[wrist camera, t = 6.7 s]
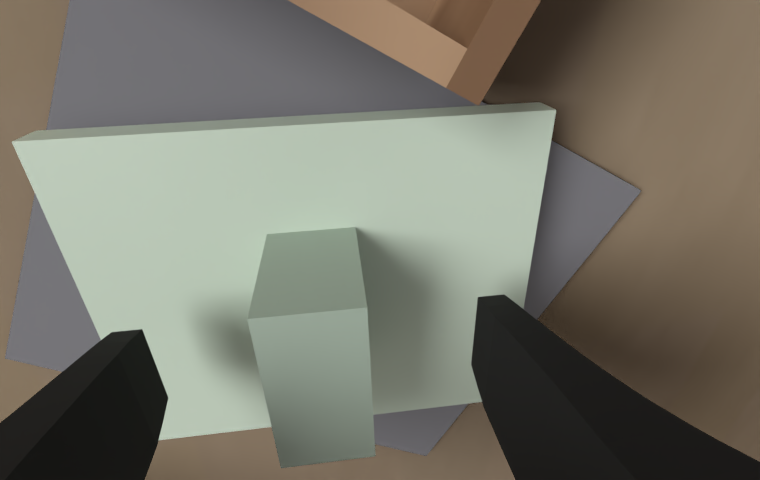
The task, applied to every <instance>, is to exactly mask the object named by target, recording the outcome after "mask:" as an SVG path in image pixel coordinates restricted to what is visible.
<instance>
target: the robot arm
mask: <svg viewBox="0 0 760 480" xmlns="http://www.w3.org/2000/svg"><path fill="white" fill-rule="evenodd" d="M471 366H472V369H473V373H474V376H475V380H476V383H477V387H478V390H479V393H480V396H481V400H482V403H483V406H484V408H485V411H486V413H487V416H488V418H489V420H490V422H491V425H492V427H493V429H494V432H495V434H496V436H497V439H498V441H499V443H500V445H501V448H502V450H503V452H504V455H505V457H506V459H507V461H508V464H509V466H510V468H511V470H512V473H513V475H514V477H515V480H760V462H759V461H757V460H755V459H753V458H751V457H749V456H747V455H745V454H743V453H741V452H740V451H738V450H736V449H734V448H732V447H730V446H728V445H726V444H724V443H722V442H720V441H719V440H717V439H715V438H713V437H711V436H709V435H708V434H706V433H704V432H702V431H700V430H699V429H697V428H695V427H693V426H692V425H690V424H688V423H687V422H685V421H683V420H681V419H680V418H678V417H676V416H675V415H673V414H671V413H670V412H668V411H666V410H665V409H663V408H661V407H660V406H658V405H656V404H655V403H653V402H651V401H650V400H648V399H647V398H645V397H643V396H642V395H640V394H639V393H637V392H636V391H634V390H632V389H631V388H630V387H628V386H627V385H625V384H624V383H622V382H621V381H619V380H618V379H616V378H615V377H613V376H612V375H610V374H609V373H607V372H606V371H604V370H603V369H602V368H600V367H599V366H597V365H596V364H595V363H593V362H592V361H590V360H589V359H588V358H586V357H585V356H583V355H582V354H581V353H579V352H578V351H577V350H575V349H574V348H573V347H571V346H570V345H569V344H567V343H566V342H565V341H563V340H562V339H561V338H559V337H558V336H557V335H556V334H554V333H553V332H552V331H550V330H549V329H548V328H547V327H545V326H544V325H543V324H542V323H540V322H539V321H538V320H536V319H535V318H534V317H533V316H531V315H530V314H529V313H528V312H526V311H525V310H524V309H523V308H521V307H520V306H519V305H518V304H516V303H515V302H514V301H512V300H511V299H510V298H508V297H507V296H506V295H504V294H503V295H493V296H483V297H478V300H477V310H476V320H475V330H474V340H473V350H472V360H471ZM167 402H168V395H167V393H166V390H165V388H164V385H163V382H162V380H161V377H160V374H159V372H158V369H157V367H156V364H155V361H154V359H153V356H152V353H151V351H150V348H149V346H148V343H147V340H146V338H145V335H144V332H143V330H142V329H139V330H128V331H118V332H111V333H110V334H109V335H107V336H106V337H105V338H103V339H102V340H101V341H99V342H98V343H97V344H96V345H94V346H93V347H92V348H91V349H89V350H88V351H87V352H86V353H85V354H83V355H82V356H81V357H80V358H78V359H77V360H76V361H75V362H74V363H72V364H71V365H70V366H69V367H68V368H66V369H65V370H64V371H63V372H62V373H61V374H59V375H58V376H57V377H56V378H55V379H53V380H52V381H51V382H50V383H49V384H47V385H46V386H45V387H44V388H42V389H41V390H40V391H39V392H38V393H36V394H35V395H34V396H33V397H32V398H30V399H29V400H28V401H27V402H25V403H24V404H23V405H22V406H21V407H19V408H18V409H17V410H16V411H15V412H13V413H12V414H11V415H10V416H8V417H7V418H6V419H5V420H3V421H2V422H1V423H0V480H145V477H146V474H147V471H148V469H149V466H150V463H151V461H152V458H153V455H154V453H155V450H156V447H157V444H158V440H159V436H160V432H161V428H162V424H163V420H164V415H165V411H166V406H167Z"/></svg>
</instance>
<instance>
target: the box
mask: <svg viewBox="0 0 760 480" xmlns="http://www.w3.org/2000/svg"><path fill="white" fill-rule="evenodd" d="M288 1H290V2H292V3H294V4H295V5H297V6H299V7H301V8H303V9H304V10H306V11H308V12H310V13H312V14H313V15H315V16H317V17H319V18H321V19H322V20H324V21H326V22H328V23H330V24H331V25H333V26H335V27H337V28H339V29H340V30H342V31H344V32H346V33H348V34H350V35H351V36H353V37H355V38H357V39H359V40H360V41H362V42H364V43H366V44H368V45H369V46H371V47H373V48H375V49H377V50H378V51H380V52H382V53H384V54H386V55H387V56H389V57H391V58H393V59H395V60H396V61H398V62H400V63H402V64H404V65H406V66H407V67H409V68H411V69H413V70H415V71H416V72H418V73H420V74H422V75H424V76H425V77H427V78H429V79H431V80H433V81H434V82H436V83H438V84H440V85H442V86H443V87H445V88H447V89H449V90H451V91H453V92H454V93H456V94H458V95H460V96H462V97H463V98H465V99H467V100H469V101H471V102H472V103H474V104H476V105H478V106H479V105H480V103H481V101H482V100H483V98H484V96H485V95H486V93H487V91H488V89H489V88H490V86H491V84H492V83H493V81H494V79H495V78H496V76H497V74H498V73H499V71H500V69H501V67H502V66H503V64H504V62H505V61H506V59H507V57H508V56H509V54H510V52H511V50H512V49H513V47H514V45H515V44H516V42H517V40H518V39H519V37H520V35H521V34H522V32H523V30H524V28H525V27H526V25H527V23H528V22H529V20H530V18H531V17H532V15H533V13H534V12H535V10H536V8H537V6H538V5H539V3H540V1H541V0H288Z"/></svg>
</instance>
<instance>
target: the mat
mask: <svg viewBox="0 0 760 480" xmlns="http://www.w3.org/2000/svg"><path fill="white" fill-rule="evenodd" d="M480 105H488V104H486V103H484V102H482V101H481V103H480ZM480 105H479V106H480ZM462 106H478V105H476V104H474V103H472V102H471V101H469V100H467V99H465V98H463V97H462V96H460V95H458V94H456V93H454V92H453V91H451V90H449V89H447V88H445V87H443V86H442V85H440V84H438V83H436V82H434V81H433V80H431V79H429V78H427V77H425V76H424V75H422V74H420V73H418V72H416V71H415V70H413V69H411V68H409V67H407V66H406V65H404V64H402V63H400V62H398V61H396V60H395V59H393V58H391V57H389V56H387V55H386V54H384V53H382V52H380V51H378V50H377V49H375V48H373V47H371V46H369V45H368V44H366V43H364V42H362V41H360V40H359V39H357V38H355V37H353V36H351V35H350V34H348V33H346V32H344V31H342V30H340V29H339V28H337V27H335V26H333V25H331V24H330V23H328V22H326V21H324V20H322V19H321V18H319V17H317V16H315V15H313V14H312V13H310V12H308V11H306V10H304V9H303V8H301V7H299V6H297V5H295V4H294V3H292V2H290V1H288V0H70V2H69V7H68V13H67V19H66V24H65V30H64V35H63V41H62V46H61V52H60V57H59V63H58V68H57V74H56V79H55V85H54V90H53V96H52V101H51V107H50V113H49V118H48V124H47V129H46V130H56V129H74V128H92V127H109V126H127V125H144V124H162V123H180V122H197V121H215V120H233V119H250V118H268V117H286V116H303V115H321V114H339V113H356V112H374V111H392V110H409V109H427V108H445V107H462ZM640 192H641V190H639V189H638V188H636V187H634V186H632V185H631V184H629V183H627V182H625V181H624V180H622V179H620V178H618V177H616V176H615V175H613V174H611V173H609V172H607V171H606V170H604V169H602V168H600V167H598V166H597V165H595V164H593V163H591V162H590V161H588V160H586V159H584V158H582V157H581V156H579V155H577V154H575V153H573V152H572V151H570V150H568V149H566V148H564V147H563V146H561V145H559V144H557V143H556V142H554V141H552V140H551V145H550V151H549V157H548V164H547V170H546V176H545V182H544V188H543V194H542V200H541V206H540V212H539V218H538V224H537V230H536V236H535V242H534V248H533V254H532V260H531V266H530V272H529V278H528V284H527V291H526V297H525V303H524V310H525V311H526V312H528V313H529V314H530V315H531V316H533V317H534V318H535V319H536V320H537V319H538V318H539V316H540V315H541V314H542V313H543V311H544V310H545V309H546V308H547V307H548V305H549V304H550V303H551V302H552V300H553V299H554V298H555V297H556V295H557V294H558V293H559V292H560V291H561V289H562V288H563V287H564V286H565V284H566V283H567V282H568V281H569V279H570V278H571V277H572V276H573V275H574V273H575V272H576V271H577V270H578V268H579V267H580V266H581V265H582V263H583V262H584V261H585V260H586V258H587V257H588V256H589V255H590V254H591V252H592V251H593V250H594V249H595V247H596V246H597V245H598V244H599V242H600V241H601V240H602V239H603V238H604V236H605V235H606V234H607V233H608V231H609V230H610V229H611V228H612V226H613V225H614V224H615V223H616V222H617V220H618V219H619V218H620V217H621V215H622V214H623V213H624V212H625V210H626V209H627V208H628V207H629V206H630V204H631V203H632V202H633V201H634V199H635V198H636V197H637V196H638V194H639V193H640ZM99 341H101V339H100V337H99V335H98V332H97V330H96V328H95V326H94V323H93V321H92V319H91V317H90V315H89V312H88V310H87V308H86V306H85V303H84V301H83V299H82V297H81V295H80V292H79V290H78V288H77V286H76V283H75V281H74V279H73V277H72V274H71V272H70V270H69V268H68V266H67V263H66V261H65V259H64V257H63V254H62V252H61V250H60V248H59V246H58V243H57V241H56V239H55V237H54V234H53V232H52V230H51V228H50V226H49V223H48V221H47V219H46V217H45V214H44V212H43V210H42V208H41V205H40V203H39V201H38V199H37V197H36V194H35V195H34V201H33V206H32V212H31V218H30V223H29V229H28V234H27V240H26V245H25V251H24V256H23V262H22V267H21V273H20V278H19V284H18V289H17V295H16V300H15V306H14V312H13V317H12V323H11V328H10V334H9V339H8V345H7V350H6V356H5V359H10V360H14V361H18V362H23V363H27V364H31V365H36V366H40V367H44V368H48V369H53V370H57V371H61V372H63V371H64V370H65V369H66V368H68V367H69V366H70V365H71V364H72V363H74V362H75V361H76V360H77V359H78V358H80V357H81V356H82V355H83V354H85V353H86V352H87V351H88V350H89V349H91V348H92V347H93V346H94V345H96V344H97V343H98V342H99ZM467 405H468V404H460V405H452V406H443V407H435V408H426V409H418V410H410V411H401V412H393V413H384V414H376V415H373V420H374V439H375V444H377V445H381V446H385V447H390V448H394V449H398V450H403V451H407V452H411V453H416V454H420V455H424V456H427V454H428V453H429V452H430V451H431V449H432V448H433V447H434V446H435V444H436V443H437V442H438V441H439V440H440V438H441V437H442V436H443V435H444V433H445V432H446V431H447V430H448V428H449V427H450V426H451V425H452V424H453V422H454V421H455V420H456V419H457V417H458V416H459V415H460V414H461V412H462V411H463V410H464V409H465V407H466V406H467Z"/></svg>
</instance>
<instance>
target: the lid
mask: <svg viewBox="0 0 760 480" xmlns="http://www.w3.org/2000/svg"><path fill="white" fill-rule="evenodd" d="M555 115H556V109H553V108H551V107H549V106H547V105H545V104H543V103H541V102H533V103H515V104H498V105H480V106H462V107H445V108H427V109H409V110H392V111H374V112H356V113H339V114H321V115H303V116H286V117H268V118H250V119H233V120H215V121H197V122H180V123H162V124H144V125H127V126H109V127H92V128H74V129H56V130H39V131H34V132H32V133H30V134H28V135H25V136H23V137H21V138H19V139H17V140H14V141H12V143H13V145H14V148H15V150H16V152H17V154H18V157H19V159H20V161H21V163H22V165H23V168H24V170H25V172H26V174H27V177H28V179H29V181H30V183H31V185H32V188H33V190H34V192H35V194H36V197H37V199H38V201H39V203H40V205H41V208H42V210H43V212H44V214H45V217H46V219H47V221H48V223H49V226H50V228H51V230H52V232H53V234H54V237H55V239H56V241H57V243H58V246H59V248H60V250H61V252H62V254H63V257H64V259H65V261H66V263H67V266H68V268H69V270H70V272H71V274H72V277H73V279H74V281H75V283H76V286H77V288H78V290H79V292H80V295H81V297H82V299H83V301H84V303H85V306H86V308H87V310H88V312H89V315H90V317H91V319H92V321H93V323H94V326H95V328H96V330H97V332H98V335H99V337H100V339H101V340H102V339H103V338H105V337H106V336H107V335H109V334H110V333H111V332H118V331H128V330H139V329H142V330H143V332H144V335H145V338H146V340H147V343H148V346H149V348H150V351H151V353H152V356H153V359H154V361H155V364H156V367H157V369H158V372H159V374H160V377H161V380H162V382H163V385H164V388H165V390H166V393H167V395H168V402H167V406H166V411H165V415H164V420H163V424H162V428H161V432H160V436H159V440H164V439H173V438H181V437H190V436H198V435H207V434H215V433H224V432H232V431H241V430H249V429H257V428H266V427H272V431H273V435H274V439H275V444H276V448H277V453H278V457H279V461H280V466H281V468H286V467H294V466H302V465H310V464H317V463H325V462H333V461H341V460H349V459H357V458H365V457H373V456H375V439H374V420H373V415H376V414H384V413H393V412H401V411H410V410H418V409H426V408H435V407H443V406H452V405H460V404H469V403H477V402H482V400H481V396H480V393H479V390H478V387H477V383H476V380H475V376H474V373H473V369H472V366H471V360H472V350H473V340H474V330H475V320H476V310H477V300H478V297H483V296H493V295H503V294H504V295H506V296H507V297H508V298H510V299H511V300H512V301H514V302H515V303H516V304H518V305H519V306H520V307H521V308H523V309H524V303H525V297H526V291H527V284H528V278H529V272H530V266H531V260H532V254H533V248H534V242H535V236H536V230H537V224H538V218H539V212H540V206H541V200H542V194H543V188H544V182H545V176H546V170H547V164H548V157H549V151H550V145H551V139H552V133H553V127H554V121H555Z"/></svg>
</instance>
